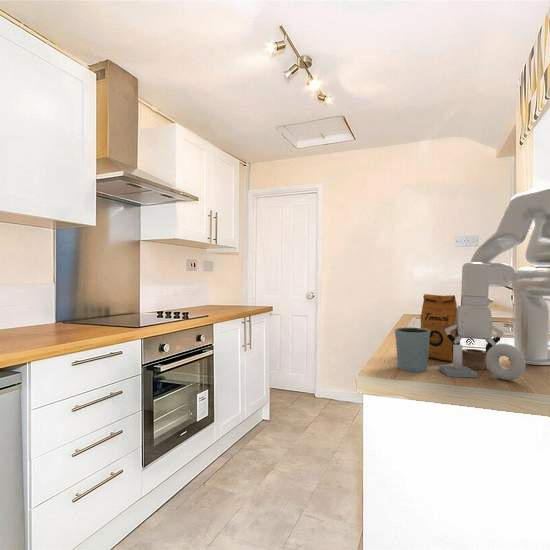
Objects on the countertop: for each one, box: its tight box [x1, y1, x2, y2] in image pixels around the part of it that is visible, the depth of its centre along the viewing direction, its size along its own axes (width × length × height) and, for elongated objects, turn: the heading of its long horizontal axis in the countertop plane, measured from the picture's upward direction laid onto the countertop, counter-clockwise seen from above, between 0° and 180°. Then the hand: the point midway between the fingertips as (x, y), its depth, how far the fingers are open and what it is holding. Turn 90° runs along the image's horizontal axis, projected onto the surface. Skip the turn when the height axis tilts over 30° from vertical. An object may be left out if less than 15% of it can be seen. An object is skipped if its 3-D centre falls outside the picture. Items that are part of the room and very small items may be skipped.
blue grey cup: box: [394, 326, 430, 373], centre depth 117 cm, size 10×10×12 cm
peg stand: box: [438, 344, 479, 378], centre depth 112 cm, size 8×8×8 cm
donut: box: [486, 343, 527, 381], centre depth 106 cm, size 10×3×10 cm, turn 37°
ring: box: [462, 348, 488, 370], centre depth 120 cm, size 7×7×5 cm
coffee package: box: [420, 293, 461, 363], centre depth 132 cm, size 10×12×22 cm
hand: (472, 356), depth 120 cm, fingers open, 9 cm apart
